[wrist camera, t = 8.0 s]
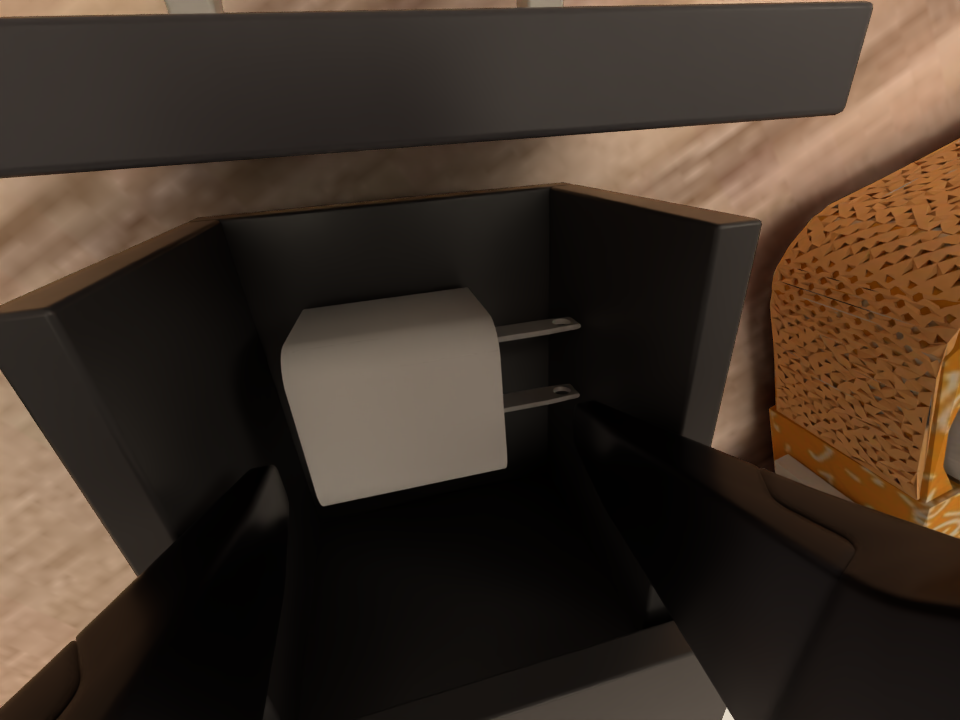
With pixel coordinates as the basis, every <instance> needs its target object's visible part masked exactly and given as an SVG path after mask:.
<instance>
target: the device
mask: <svg viewBox="0 0 960 720" xmlns="http://www.w3.org/2000/svg"><path fill="white" fill-rule="evenodd" d="M770 312H771V323H772V334H773V345H774V370H775V400H776V405H774V406H773V407H771V408H769V414H770V424H771V434H772V444H773V455H774V465H775V473H776V474H779V475H781V476H783V477H786V478H789V479H791V480H794V481H796V482H799V483H802V484H804V485H807V486H809V487H812V488H815V489H817V490H820V491H823V492H826V493H828V494H831V495H834V496H837V497H840V498H842V499H845V500H848V501H851V502H854V503H857V504H860V505H862V506H865V507H868V508H871V509H874V510H877V511H880V512H883V513H886V514H889V515H892V516H895V517H897V518H900V519H903V520H906V521H909V522H912V523H915V524H918V525H921V526H924V527H927V528H930V529H933V530H935V531H938V532H941V533H944V534H947V535H950V536H953V537H956V538H959V539H960V138H959V139H957V140H955V141H953V142H952V143H950V144H948V145H946V146H944V147H942V148H940V149H938V150H936V151H934V152H932V153H930V154H928V155H927V156H925V157H923V158H921V159H919V160H917V161H915V162H913V163H911V164H909V165H907V166H905V167H903V168H901V169H900V170H898V171H896V172H894V173H892V174H890V175H888V176H886V177H884V178H882V179H880V180H878V181H876V182H874V183H872V184H870V185H868V186H866V187H864V188H862V189H860V190H858V191H856V192H854V193H852V194H850V195H848V196H846V197H844V198H842V199H840V200H838V201H836V202H834V203H832V204H830V205H828V206H827V207H826V208H825V209H824V210H823V211H821V212H820V213H819V214H817V215H815V216H814V217H813V218H812V219H811V220H810V221H809V222H808V223H807V225H806V226H805V227H804V229H803V230H802V231H801V232H800V233H799V234H798V236H797V237H796V238H795V240H794V241H793V242H792V243H791V244H790V245H789V247H788V249H787V250H786V252H785V254H784V256H783V257H782V259H781V261H780V262H779V264H778V266H777V268H776V270H775V272H774V274H773V281H772V296H771V301H770Z"/></svg>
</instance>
